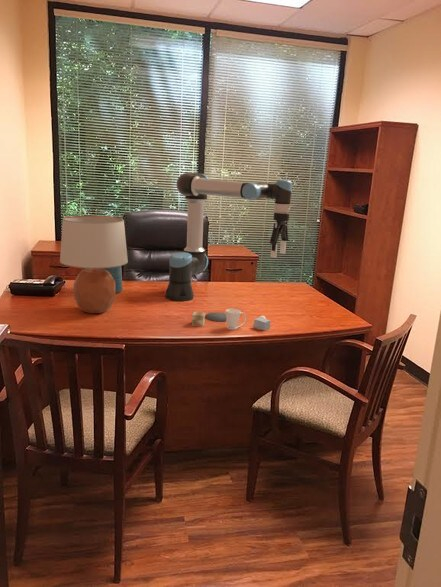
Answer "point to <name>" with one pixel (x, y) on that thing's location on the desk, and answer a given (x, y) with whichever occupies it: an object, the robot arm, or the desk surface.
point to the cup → (233, 318)
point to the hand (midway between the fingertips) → (278, 255)
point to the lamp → (93, 258)
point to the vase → (116, 277)
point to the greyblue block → (262, 323)
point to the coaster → (216, 316)
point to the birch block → (198, 318)
